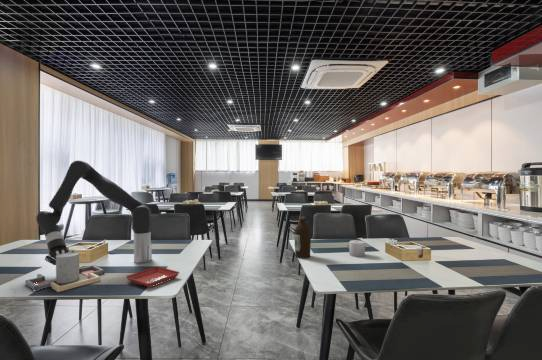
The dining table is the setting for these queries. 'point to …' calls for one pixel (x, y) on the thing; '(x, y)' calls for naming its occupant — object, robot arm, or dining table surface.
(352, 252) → the toilet tissue
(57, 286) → the two-trap box
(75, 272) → the grey concrete cylinder
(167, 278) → the plant saucer
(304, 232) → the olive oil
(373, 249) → the dining table surface
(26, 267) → the dining table surface
